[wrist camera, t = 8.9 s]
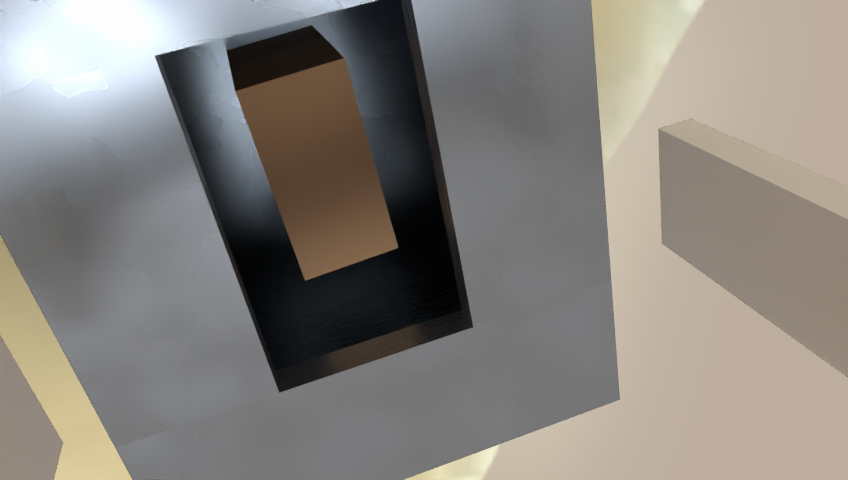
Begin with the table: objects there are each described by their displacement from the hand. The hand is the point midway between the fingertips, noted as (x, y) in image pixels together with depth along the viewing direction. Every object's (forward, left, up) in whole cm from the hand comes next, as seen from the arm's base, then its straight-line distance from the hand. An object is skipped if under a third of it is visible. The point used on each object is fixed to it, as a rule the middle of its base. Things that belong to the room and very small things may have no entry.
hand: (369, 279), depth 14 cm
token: (0, 0, -13) cm, 13 cm away
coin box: (0, 0, -14) cm, 14 cm away
